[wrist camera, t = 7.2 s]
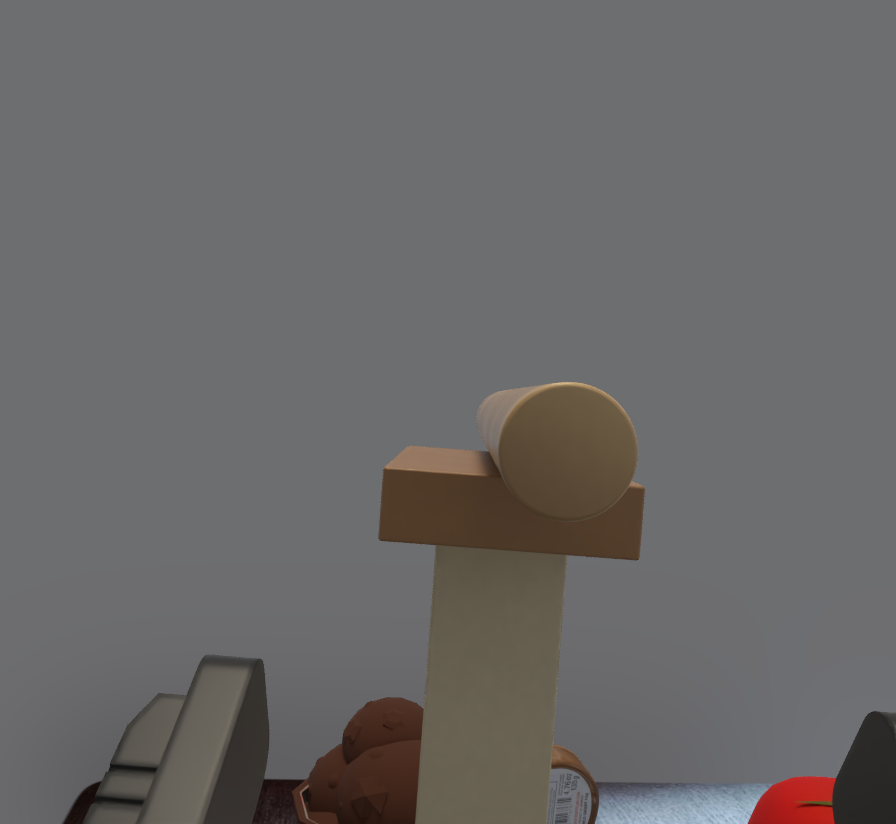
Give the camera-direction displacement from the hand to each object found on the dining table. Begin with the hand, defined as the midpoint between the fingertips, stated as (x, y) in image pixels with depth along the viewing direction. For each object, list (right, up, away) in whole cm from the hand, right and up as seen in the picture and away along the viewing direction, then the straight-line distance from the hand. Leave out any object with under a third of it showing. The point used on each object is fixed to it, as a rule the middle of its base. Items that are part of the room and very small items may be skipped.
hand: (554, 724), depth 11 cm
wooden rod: (0, +3, +13) cm, 13 cm away
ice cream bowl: (-6, -29, +39) cm, 49 cm away
